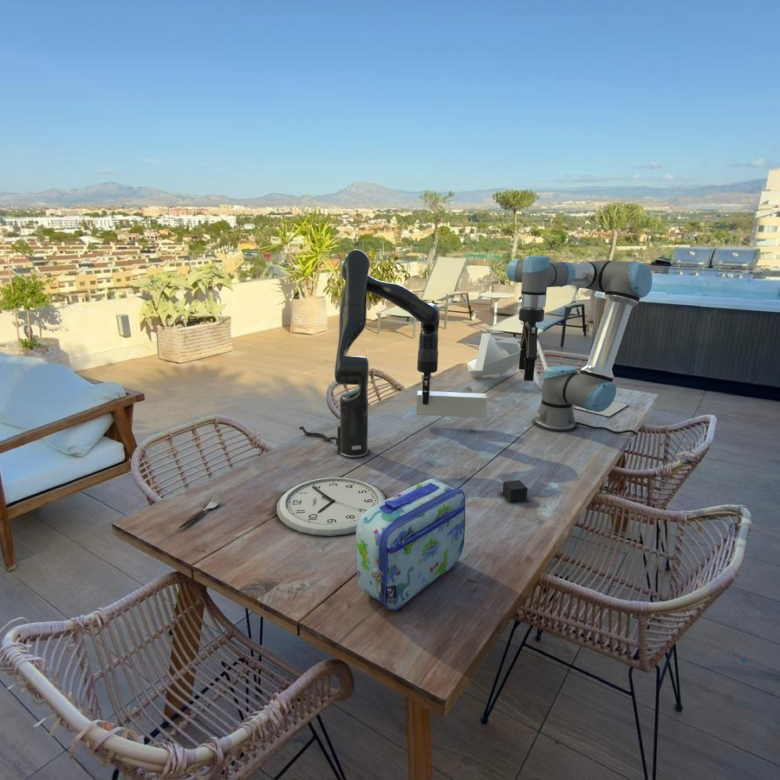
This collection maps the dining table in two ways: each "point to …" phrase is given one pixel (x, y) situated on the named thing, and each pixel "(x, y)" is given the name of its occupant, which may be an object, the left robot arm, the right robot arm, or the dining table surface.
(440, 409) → the bar
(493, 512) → the dining table surface
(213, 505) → the fork
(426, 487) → the lunch box
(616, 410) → the invitation card
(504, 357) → the white plastic object
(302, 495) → the wall clock
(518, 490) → the rubber block
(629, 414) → the dining table surface
